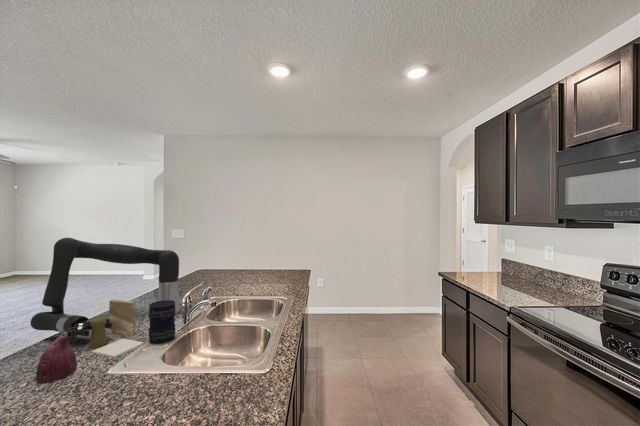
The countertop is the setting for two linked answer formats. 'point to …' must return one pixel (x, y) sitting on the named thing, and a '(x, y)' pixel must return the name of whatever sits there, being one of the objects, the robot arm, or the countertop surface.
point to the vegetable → (56, 361)
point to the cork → (98, 333)
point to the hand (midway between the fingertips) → (100, 329)
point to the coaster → (118, 347)
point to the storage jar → (162, 321)
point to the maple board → (122, 317)
